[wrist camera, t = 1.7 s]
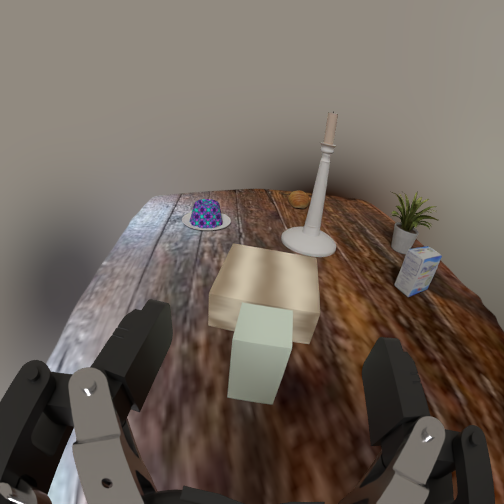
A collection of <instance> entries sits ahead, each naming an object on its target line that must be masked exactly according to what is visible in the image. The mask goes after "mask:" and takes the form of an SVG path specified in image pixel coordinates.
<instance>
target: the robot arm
mask: <svg viewBox="0 0 504 504" xmlns="http://www.w3.org/2000/svg"><path fill="white" fill-rule="evenodd" d="M172 336H173V330H172V320H171V310H170V305H169V303H165V302H161V301H157V300H152V299H150V300H148V301H147V303H146V304H145V306H144V307H143V309H142V310H137V309H135V310H133V311H132V312H130V313H129V314H127V315H126V316H125V317H124V318H123V319H122V321H121V322H120V324H119V325H118V328H116V330H115V331H114V332H113V335H112V336H111V337H110V338H109V340H108V341H107V343H106V344H105V346H104V347H103V349H102V350H101V352H100V353H99V355H98V357H97V358H96V360H95V361H94V363H93V364H92V365H91V367H88V368H82V369H80V370H78V371H76V372H75V373H74V374H64V373H56V372H51V371H50V369H49V368H48V366H47V365H46V364H45V363H44V362H42V361H39V360H33V361H30V362H27V363H26V364H25V365H24V366H22V368H21V369H20V371H19V373H18V374H17V375H16V377H15V379H14V380H13V382H12V383H11V385H10V387H9V388H8V390H7V391H6V393H5V395H4V397H3V398H2V400H1V402H0V504H52V502H51V500H50V498H49V497H48V496H47V495H48V492H49V489H50V486H51V483H52V480H53V478H54V475H55V472H56V470H57V467H58V464H59V462H60V459H61V457H62V454H63V452H64V449H65V447H66V445H67V442H68V440H69V438H70V435H71V433H72V431H73V428H75V433H76V442H74V443H73V446H72V449H73V455H74V460H75V464H76V468H77V471H78V475H79V478H80V482H81V485H82V488H83V491H84V494H85V497H86V500H87V503H88V504H244V503H241V502H238V501H236V500H233V499H230V498H228V497H225V496H223V495H221V494H218V493H213V492H208V491H203V490H199V489H195V488H191V487H187V486H183V490H165V491H159V492H158V491H157V489H156V487H155V485H154V483H153V480H152V478H151V476H150V474H149V472H148V470H147V468H146V466H145V465H144V463H143V461H142V458H141V456H140V453H139V451H138V448H137V445H136V443H135V440H134V437H133V434H132V431H131V428H130V425H129V422H128V419H127V416H128V414H129V412H130V410H131V409H132V410H135V411H137V412H140V411H141V409H142V406H143V404H144V402H145V400H146V397H147V395H148V393H149V391H150V388H151V386H152V384H153V382H154V380H155V377H156V375H157V373H158V371H159V369H160V367H161V364H162V362H163V360H164V358H165V356H166V354H167V351H168V349H169V347H170V345H171V341H172ZM417 373H418V372H417V369H416V365H415V362H414V361H413V359H412V358H411V357H410V355H409V354H408V353H407V352H403V349H402V346H401V343H400V341H399V339H397V338H384V337H380V338H379V339H378V340H377V342H376V343H375V345H374V347H373V349H372V350H371V352H370V354H369V355H368V357H367V359H366V360H365V362H364V365H363V369H362V379H363V386H364V392H365V399H366V406H367V414H368V422H369V431H370V440H371V446H380V445H381V447H382V451H381V452H380V453H379V454H378V455H377V457H376V458H375V460H374V461H373V463H372V464H371V466H370V467H369V469H368V470H367V472H366V473H365V474H364V476H363V477H362V478H361V480H360V481H359V483H358V484H357V485H356V486H355V488H354V489H353V490H352V491H351V492H350V493H348V494H347V495H346V496H345V497H344V498H343V499H342V500H341V501H340V502H339V503H338V504H495V496H494V486H493V478H492V470H491V464H490V458H489V453H488V448H487V443H486V439H485V435H484V433H483V431H482V430H481V429H480V428H479V427H477V426H475V425H470V426H468V427H466V428H465V429H464V430H463V431H461V432H456V431H451V430H446V429H444V427H443V425H442V423H441V422H440V421H439V420H438V419H436V418H434V417H431V416H430V413H429V409H428V405H427V402H426V398H425V395H424V391H423V388H422V384H421V383H420V378H419V375H417ZM455 470H456V477H457V487H458V495H457V498H456V499H455V501H454V498H453V484H452V474H451V472H453V471H455ZM109 487H110V488H109ZM324 503H325V502H288V503H282V504H324Z"/></svg>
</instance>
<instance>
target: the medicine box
mask: <svg viewBox="0 0 504 504" xmlns="http://www.w3.org/2000/svg"><path fill="white" fill-rule="evenodd" d="M441 257H442V256H441V255H440V254H439V253H438V252H436V251H435V250H433V249H432V248H430V247H428V246H427V247H421V248H415V249H408V251H407V254H406V257H405V259H404V262H403V264H402V267H401V270H400V272H399V275H398V277H397V280H396V282H395V286H396V287H397V288H398V289H399V290H400V291H401V292H403V293H404V294H405V295H406V296H407V297H410V296H412V295H415V294H417V293H419V292H422V291H425V290H427V288H428V286H429V284H430V282H431V280H432V278H433V275H434V273H435V271H436V269H437V266H438V264H439V262H440V259H441Z"/></svg>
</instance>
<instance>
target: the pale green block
mask: <svg viewBox="0 0 504 504" xmlns="http://www.w3.org/2000/svg"><path fill="white" fill-rule="evenodd" d="M292 330H293V310H286V309H280V308H273V307H267V306H261V305H255V304H249V303H243V302H242V305H241V309H240V312H239V316H238V320H237V324H236V328H235V332H234V336H233V341H232V352H231V362H230V373H229V385H228V396H227V397H228V398H233V399H239V400H245V401H251V402H258V403H265V404H273V402H274V399H275V396H276V393H277V391H278V388H279V385H280V382H281V379H282V377H283V374H284V371H285V368H286V365H287V362H288V359H289V356H290V353H291V350H292Z"/></svg>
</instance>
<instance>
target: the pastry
mask: <svg viewBox="0 0 504 504" xmlns="http://www.w3.org/2000/svg"><path fill="white" fill-rule="evenodd" d="M288 200H289V203H290V204H291V206H293V207H294V208H303V209H304V208H305V207H307V206H308V204H309V196H308V195H307V194H305V193H304V192H303V191H294V192H292V193H291V194H290V196H289V197H288Z"/></svg>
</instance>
